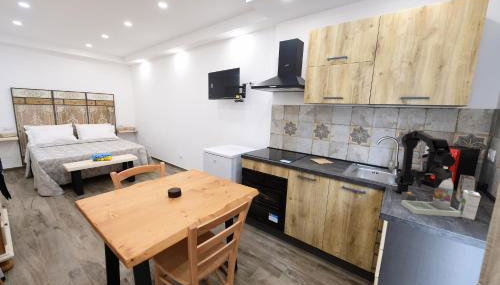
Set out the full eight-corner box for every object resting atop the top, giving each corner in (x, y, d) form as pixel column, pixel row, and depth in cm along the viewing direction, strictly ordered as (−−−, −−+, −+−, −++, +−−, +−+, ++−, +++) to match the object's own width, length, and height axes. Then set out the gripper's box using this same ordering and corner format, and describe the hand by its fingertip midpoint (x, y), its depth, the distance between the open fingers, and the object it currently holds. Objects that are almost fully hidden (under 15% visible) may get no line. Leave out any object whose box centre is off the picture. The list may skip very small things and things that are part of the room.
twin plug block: (431, 208, 115) (433, 197, 114) (440, 208, 115) (443, 197, 114) (438, 212, 110) (441, 201, 109) (448, 213, 110) (451, 201, 109)
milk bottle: (432, 199, 130) (439, 169, 127) (449, 203, 125) (456, 172, 122) (431, 202, 125) (438, 171, 122) (449, 207, 120) (456, 175, 116)
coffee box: (472, 204, 125) (479, 180, 122) (458, 201, 128) (464, 177, 125) (468, 199, 132) (474, 176, 129) (454, 197, 136) (460, 174, 133)
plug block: (400, 200, 126) (402, 190, 125) (408, 201, 126) (410, 191, 124) (406, 204, 121) (408, 194, 120) (414, 205, 121) (416, 194, 120)
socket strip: (400, 205, 119) (401, 200, 119) (441, 208, 118) (442, 202, 117) (414, 215, 108) (415, 209, 108) (459, 218, 107) (461, 212, 107)
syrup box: (456, 213, 112) (462, 189, 110) (472, 217, 109) (478, 192, 106) (458, 217, 108) (464, 192, 106) (474, 221, 104) (481, 195, 102)
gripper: (428, 164, 104) (421, 193, 107) (465, 166, 103) (458, 195, 106) (411, 158, 114) (406, 184, 118) (445, 160, 114) (439, 186, 117)
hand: (427, 187), depth 114 cm, fingers open, 9 cm apart
